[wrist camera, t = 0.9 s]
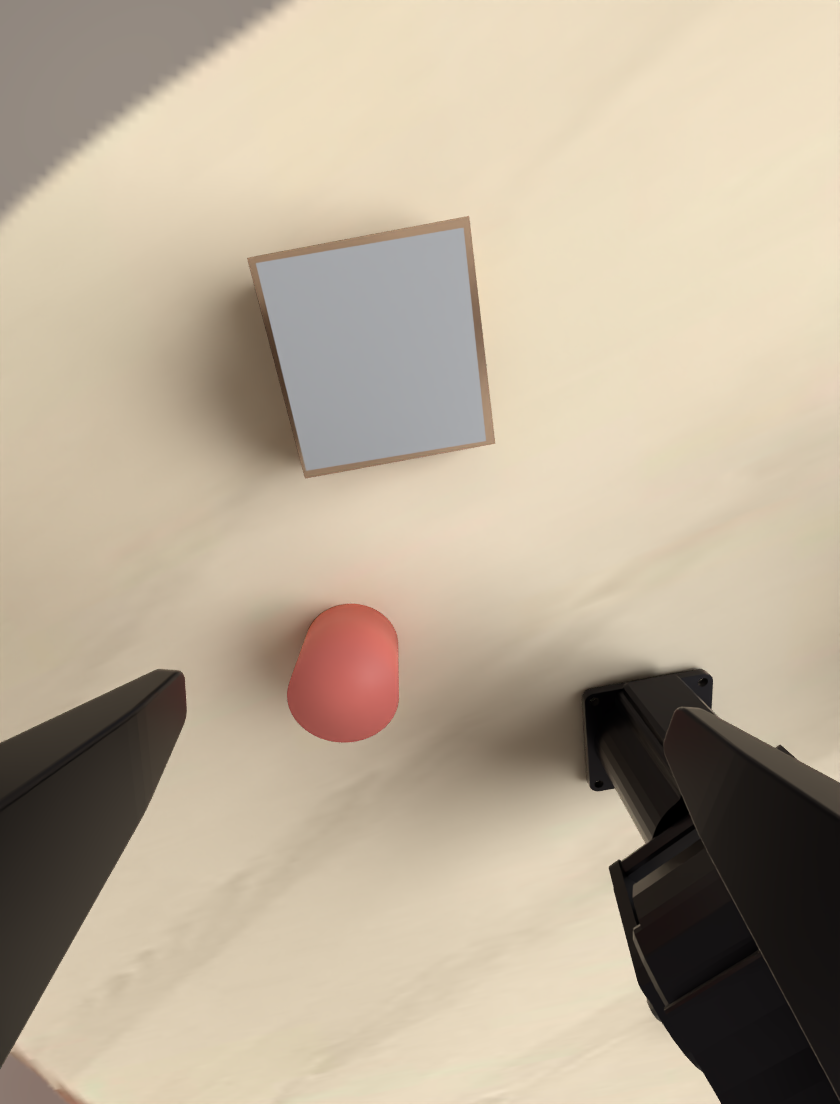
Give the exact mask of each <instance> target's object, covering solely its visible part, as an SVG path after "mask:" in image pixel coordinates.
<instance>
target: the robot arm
mask: <svg viewBox="0 0 840 1104" xmlns="http://www.w3.org/2000/svg"><path fill="white" fill-rule="evenodd" d="M702 678H703V679H702ZM700 679H702V680H701V681H699V680H700ZM712 689H713V678H712V677H711V675H710V674H708V673H707V672H706V671H705V670H703V669H698V670H692V671H687V672H681V673H675V674H670V675H664V676H659V677H653V678H648V679H642V680H636V681H631V682H625V683H620V684H614V685H608V686H603V687H597V688H592V689H588V690H586V691H585V692H584V693H583V695H582V711H583V727H584V742H585V758H586V773H587V781H588V784H589V786H590V788H591V789H592V790H594V791H603V790H608V789H614V788H615V789H616V791H617V792H618V794H619V796H620V798H621V800H622V802H623V803H624V805H625V807H626V809H627V811H628V812H629V814H630V816H631V818H632V820H633V822H634V823H635V825H636V827H637V829H638V831H639V833H640V834H641V836H642V838H643V840H644V842H645V843H646V844H644V845H643V846H642V847H640V848H639V849H637V850H636V851H635V852H633V853H632V854H630V855H629V856H628V857H626V858H625V859H623V860H622V861H621V860H617V861H616V862H615V863H613V864H612V865H610V866H609V871H610V875H611V879H612V883H613V886H614V893H615V897H616V900H617V904H618V908H619V912H620V916H621V920H622V923H623V927H624V931H625V935H626V939H627V943H628V947H629V950H630V954H631V958H632V962H633V966H634V970H635V973H636V977H637V981H638V984H639V986H640V988H641V990H642V991H643V993H644V994H645V996H646V997H647V1003H648V1005H649V1008H650V1010H651V1011H652V1013H653V1015H654V1016H655V1017H656V1019H657V1020H659V1021H660V1022H662V1023H663V1025H664V1026H665V1028H666V1029H667V1031H668V1032H669V1034H670V1035H671V1037H672V1038H673V1040H674V1041H675V1043H676V1044H677V1045H678V1046H679V1048H680V1049H681V1050H682V1052H683V1053H684V1054H685V1056H686V1057H687V1058H688V1059H689V1060H690V1061H691V1062H692V1063H693V1064H694V1065H695V1066H696V1067H697V1068H698V1069H699V1070H701V1071H702V1072H703V1073H704V1075H705V1077H706V1078H707V1080H708V1082H709V1083H710V1085H711V1087H712V1088H713V1090H714V1092H715V1093H716V1095H717V1097H718V1099H719V1101H720V1102H721V1104H840V783H839V782H837V781H836V780H834V779H832V778H830V777H828V776H826V775H824V774H823V773H821V772H819V771H817V770H815V769H813V768H811V767H810V766H808V765H806V764H804V763H802V762H800V761H798V760H797V759H796V758H795V757H794V756H793V755H791V754H790V753H789V752H788V751H787V750H786V749H785V748H784V747H783V746H781V745H779V746H777V747H776V748H774V747H772V746H771V745H769V744H767V743H765V742H763V741H761V740H759V739H758V738H756V737H754V736H752V735H750V734H748V733H746V732H745V731H743V730H741V729H739V728H737V727H735V726H733V725H731V724H730V723H728V722H726V721H724V720H722V719H720V718H719V717H718V716H717V715H716V714H715V713H714V712H713V711H712V710H711V708H712ZM592 698H595V699H594V700H592V701H590V700H591V699H592ZM186 713H187V707H186V690H185V677H184V675H183V673H182V672H181V671H179V670H166V669H157V670H154V671H152V672H150V673H148V674H146V675H144V676H141V677H139V678H137V679H135V680H133V681H131V682H129V683H127V684H124V685H122V686H120V687H118V688H116V689H114V690H112V691H110V692H107V693H105V694H103V695H101V696H99V697H97V698H95V699H93V700H91V701H88V702H86V703H84V704H82V705H80V706H78V707H76V708H74V709H71V710H69V711H67V712H65V713H63V714H61V715H59V716H57V717H54V718H52V719H50V720H48V721H46V722H44V723H42V724H40V725H37V726H35V727H33V728H31V729H29V730H27V731H25V732H23V733H20V734H18V735H16V736H14V737H12V738H10V739H8V740H6V741H4V742H1V743H0V1069H1V1067H2V1065H3V1064H4V1062H5V1060H6V1058H7V1057H8V1055H9V1053H10V1051H11V1049H12V1048H13V1046H14V1044H15V1042H16V1041H17V1039H18V1037H19V1035H20V1033H21V1032H22V1030H23V1028H24V1026H25V1025H26V1023H27V1021H28V1019H29V1018H30V1016H31V1014H32V1012H33V1010H34V1009H35V1007H36V1005H37V1003H38V1002H39V1000H40V998H41V996H42V994H43V993H44V991H45V989H46V987H47V986H48V984H49V982H50V980H51V979H52V977H53V975H54V973H55V971H56V970H57V968H58V966H59V964H60V963H61V961H62V959H63V957H64V955H65V954H66V952H67V950H68V948H69V947H70V945H71V943H72V941H73V940H74V938H75V936H76V934H77V932H78V931H79V929H80V927H81V925H82V924H83V922H84V920H85V918H86V916H87V915H88V913H89V911H90V909H91V908H92V906H93V904H94V902H95V901H96V899H97V897H98V895H99V893H100V892H101V890H102V888H103V886H104V885H105V883H106V881H107V879H108V877H109V876H110V874H111V872H112V870H113V869H114V867H115V865H116V863H117V861H118V860H119V858H120V856H121V854H122V853H123V851H124V849H125V847H126V846H127V844H128V842H129V840H130V838H131V837H132V835H133V833H134V831H135V830H136V828H137V826H138V824H139V822H140V821H141V819H142V817H143V815H144V813H145V811H146V809H147V807H148V805H149V803H150V801H151V799H152V796H153V794H154V792H155V790H156V787H157V785H158V783H159V780H160V778H161V776H162V774H163V771H164V769H165V767H166V764H167V762H168V760H169V757H170V755H171V753H172V751H173V748H174V746H175V744H176V741H177V739H178V737H179V735H180V732H181V730H182V728H183V725H184V722H185V719H186ZM596 781H597V782H596Z"/></svg>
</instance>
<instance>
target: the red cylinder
mask: <svg viewBox="0 0 840 1104" xmlns="http://www.w3.org/2000/svg"><path fill="white" fill-rule="evenodd" d="M287 700H288V705H289V709H290V711H291V713H292V715H293V717H294V718H295V720H296V721H297V722H298V723H299V724H300V725H301V726H302V727H303V728H304V729H305V730H306V731H308V732H309V733H311V734H313V735H315V736H317V737H319V738H321V739H325V740H328V741H333V742H355V741H359V740H363V739H366V738H369V737H371V736H373V735H375V734H376V733H378V732H380V731H381V730H382V729H383V728H385V727H386V726H387V724H388V723H389V722H390V721H391V719H392V718H393V716H394V714H395V712H396V710H397V707H398V701H399V677H398V638H397V634H396V631H395V629H394V627H393V626H392V624H391V622H390V621H389V620H388V619H387V618H386V617H385V616H384V615H383V614H381V613H380V612H378V611H377V610H375V609H373V608H370V607H367V606H364V605H359V604H343V605H338V606H335V607H332V608H330V609H328V610H326V611H324V612H323V613H321V614H320V615H319V616H318V617H317V618H316V619H315V620H314V621H313V622H312V624H311V626H310V627H309V630H308V632H307V635H306V638H305V640H304V643H303V646H302V649H301V651H300V654H299V657H298V660H297V663H296V665H295V668H294V671H293V674H292V676H291V679H290V682H289V685H288V690H287Z"/></svg>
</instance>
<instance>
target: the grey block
mask: <svg viewBox="0 0 840 1104" xmlns="http://www.w3.org/2000/svg"><path fill="white" fill-rule="evenodd" d="M256 266H257V270H258V274H259V279H260V283H261V287H262V291H263V295H264V299H265V303H266V307H267V311H268V316H269V320H270V324H271V328H272V332H273V336H274V340H275V344H276V349H277V353H278V357H279V361H280V365H281V369H282V373H283V377H284V382H285V386H286V390H287V394H288V398H289V402H290V406H291V410H292V414H293V419H294V423H295V427H296V431H297V435H298V439H299V443H300V447H301V452H302V456H303V460H304V464H305V468H306V471H308V470H314V469H320V468H326V467H332V466H338V465H344V464H350V463H356V462H362V461H368V460H375V459H381V458H387V457H393V456H399V455H405V454H411V453H417V452H423V451H429V450H435V449H441V448H447V447H453V446H459V445H465V444H471V443H477V442H483V441H486V436H485V426H484V417H483V407H482V398H481V388H480V379H479V370H478V360H477V351H476V341H475V332H474V322H473V313H472V303H471V294H470V284H469V275H468V265H467V256H466V246H465V237H464V228H458V229H452V230H446V231H441V232H435V233H429V234H423V235H417V236H411V237H406V238H400V239H394V240H388V241H382V242H376V243H371V244H365V245H359V246H353V247H347V248H341V249H336V250H330V251H324V252H318V253H312V254H306V255H301V256H295V257H289V258H283V259H277V260H271V261H266V262H260V263H256Z"/></svg>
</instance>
